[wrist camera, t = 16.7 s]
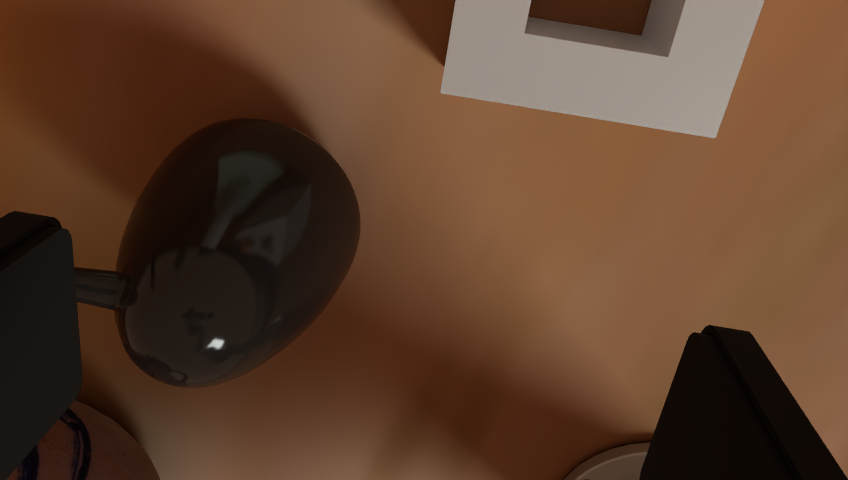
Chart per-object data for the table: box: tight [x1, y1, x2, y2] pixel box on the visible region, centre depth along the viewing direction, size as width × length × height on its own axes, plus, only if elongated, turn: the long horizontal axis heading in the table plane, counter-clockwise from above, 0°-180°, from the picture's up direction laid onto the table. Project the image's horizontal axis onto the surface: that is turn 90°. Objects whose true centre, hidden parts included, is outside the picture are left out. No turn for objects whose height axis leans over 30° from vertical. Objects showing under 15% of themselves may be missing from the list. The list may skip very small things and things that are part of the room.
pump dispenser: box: [74, 118, 360, 388], centre depth 31 cm, size 10×10×15 cm
